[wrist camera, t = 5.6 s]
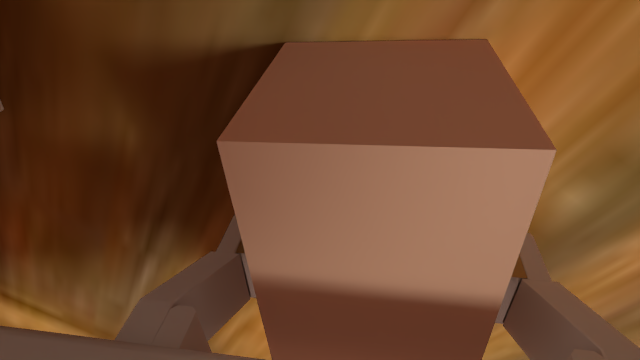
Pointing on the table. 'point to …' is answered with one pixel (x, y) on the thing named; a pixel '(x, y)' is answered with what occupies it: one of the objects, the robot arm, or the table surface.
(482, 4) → the table surface
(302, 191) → the terracotta brick
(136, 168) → the table surface
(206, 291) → the robot arm
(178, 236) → the table surface
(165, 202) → the table surface
